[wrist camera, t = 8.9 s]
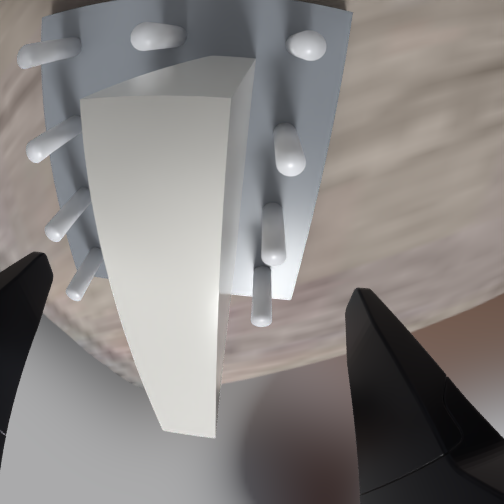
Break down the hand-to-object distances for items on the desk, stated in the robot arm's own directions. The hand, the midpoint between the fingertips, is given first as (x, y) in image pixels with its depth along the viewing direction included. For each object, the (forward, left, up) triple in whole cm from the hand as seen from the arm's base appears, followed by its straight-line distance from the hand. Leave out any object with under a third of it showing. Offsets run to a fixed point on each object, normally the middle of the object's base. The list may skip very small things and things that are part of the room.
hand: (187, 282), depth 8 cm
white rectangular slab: (0, 0, -7) cm, 7 cm away
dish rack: (+2, 0, -8) cm, 9 cm away
